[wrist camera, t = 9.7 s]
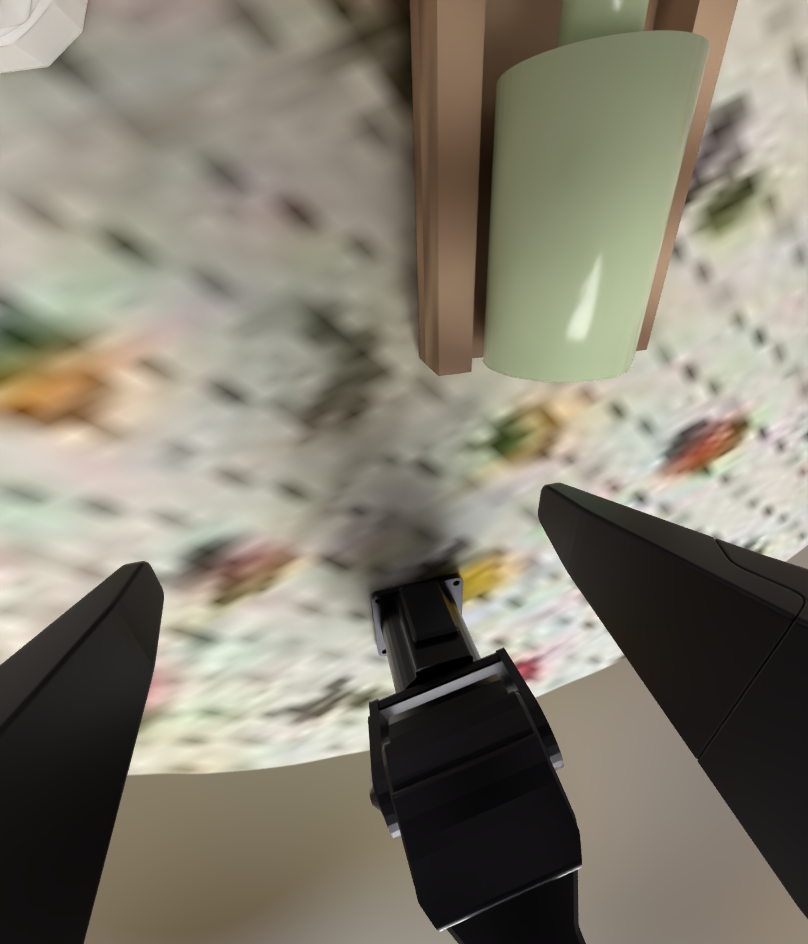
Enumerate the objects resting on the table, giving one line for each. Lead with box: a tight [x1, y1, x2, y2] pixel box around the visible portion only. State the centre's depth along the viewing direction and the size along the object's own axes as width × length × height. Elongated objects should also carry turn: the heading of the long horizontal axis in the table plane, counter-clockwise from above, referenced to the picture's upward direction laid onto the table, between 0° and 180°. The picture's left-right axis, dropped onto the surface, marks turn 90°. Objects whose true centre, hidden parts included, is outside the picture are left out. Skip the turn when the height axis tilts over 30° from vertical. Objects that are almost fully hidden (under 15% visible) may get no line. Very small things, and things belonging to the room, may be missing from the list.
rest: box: [410, 0, 738, 376], centre depth 16 cm, size 13×10×3 cm
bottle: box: [483, 0, 710, 383], centre depth 14 cm, size 13×6×6 cm, turn 3°
